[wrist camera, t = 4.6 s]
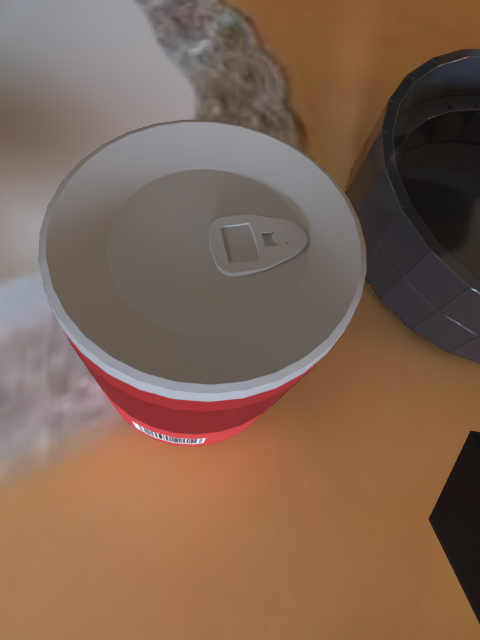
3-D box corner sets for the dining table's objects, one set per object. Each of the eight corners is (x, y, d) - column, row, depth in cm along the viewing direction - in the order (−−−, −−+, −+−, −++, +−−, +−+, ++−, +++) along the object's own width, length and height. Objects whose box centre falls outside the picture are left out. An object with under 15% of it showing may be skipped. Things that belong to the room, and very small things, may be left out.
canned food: (306, 398, 21) (430, 305, 11) (148, 484, 19) (117, 468, 9) (230, 266, 23) (274, 83, 13) (78, 329, 21) (-14, 167, 11)
